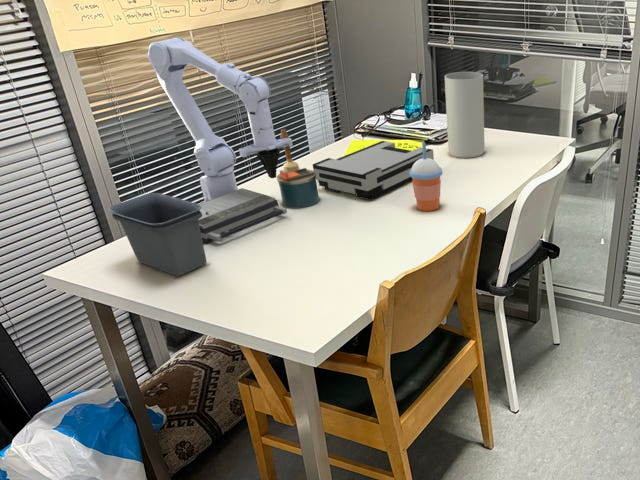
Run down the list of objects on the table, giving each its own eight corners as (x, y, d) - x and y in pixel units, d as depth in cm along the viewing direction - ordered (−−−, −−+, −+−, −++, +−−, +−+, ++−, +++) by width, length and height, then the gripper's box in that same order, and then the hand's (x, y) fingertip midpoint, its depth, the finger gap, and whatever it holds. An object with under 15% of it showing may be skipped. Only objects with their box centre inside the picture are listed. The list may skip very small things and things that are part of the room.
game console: (434, 171, 211) (432, 145, 206) (369, 203, 189) (365, 175, 184) (384, 161, 220) (382, 137, 216) (317, 191, 198) (312, 164, 194)
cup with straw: (439, 214, 181) (435, 148, 170) (408, 212, 182) (402, 147, 172) (447, 202, 188) (444, 138, 178) (417, 200, 190) (412, 137, 179)
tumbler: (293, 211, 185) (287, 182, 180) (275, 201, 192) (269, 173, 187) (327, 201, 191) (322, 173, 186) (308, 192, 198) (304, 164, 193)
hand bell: (292, 187, 202) (281, 134, 193) (274, 182, 206) (264, 130, 197) (312, 179, 207) (303, 128, 198) (295, 175, 211) (285, 124, 202)
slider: (285, 180, 183) (284, 174, 182) (279, 176, 186) (278, 170, 185) (300, 176, 186) (299, 170, 185) (293, 173, 188) (292, 167, 187)
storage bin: (121, 263, 159) (100, 207, 151) (176, 241, 170) (160, 187, 162) (174, 285, 149) (155, 226, 141) (230, 259, 160) (215, 203, 152)
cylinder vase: (444, 150, 229) (440, 73, 215) (478, 146, 232) (476, 70, 218) (454, 160, 219) (450, 81, 205) (489, 156, 222) (488, 77, 208)
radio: (240, 185, 189) (286, 198, 179) (244, 202, 192) (289, 216, 182) (163, 212, 173) (209, 228, 163) (169, 231, 176) (215, 248, 166)
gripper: (242, 135, 168) (254, 186, 176) (293, 124, 176) (302, 174, 184) (231, 130, 173) (243, 180, 181) (281, 119, 181) (291, 168, 188)
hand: (272, 177), depth 183 cm, fingers closed
